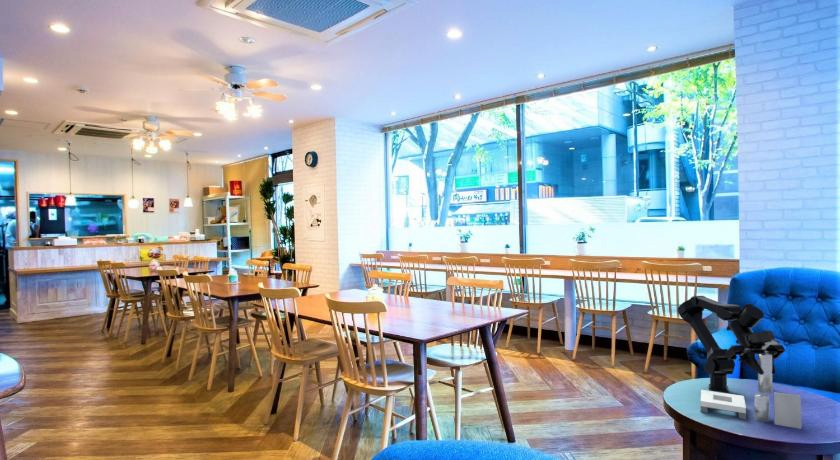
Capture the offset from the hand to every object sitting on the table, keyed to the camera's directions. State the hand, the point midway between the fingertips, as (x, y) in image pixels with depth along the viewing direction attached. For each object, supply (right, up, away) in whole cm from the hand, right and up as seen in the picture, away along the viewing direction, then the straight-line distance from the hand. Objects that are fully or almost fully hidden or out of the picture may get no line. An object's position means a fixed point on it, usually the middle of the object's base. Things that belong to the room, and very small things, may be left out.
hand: (768, 373), depth 163 cm
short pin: (-6, -14, -5) cm, 16 cm away
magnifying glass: (+18, -13, +25) cm, 33 cm away
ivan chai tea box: (-1, -14, -9) cm, 17 cm away
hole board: (-13, -14, +4) cm, 19 cm away
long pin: (0, -7, +1) cm, 7 cm away
